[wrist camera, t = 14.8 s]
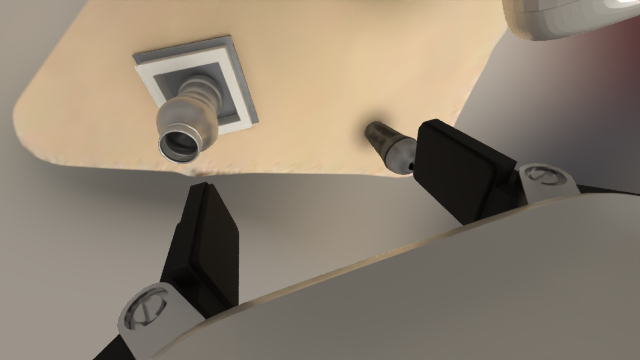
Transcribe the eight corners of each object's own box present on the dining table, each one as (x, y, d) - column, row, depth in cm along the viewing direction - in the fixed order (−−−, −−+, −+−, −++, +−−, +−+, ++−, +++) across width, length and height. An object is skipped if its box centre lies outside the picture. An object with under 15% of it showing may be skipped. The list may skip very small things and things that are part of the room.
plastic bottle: (182, 110, 39) (144, 174, 23) (180, 66, 36) (134, 108, 20) (224, 116, 41) (214, 179, 26) (226, 76, 38) (216, 120, 22)
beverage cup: (359, 148, 55) (406, 202, 39) (359, 118, 50) (414, 165, 35) (387, 142, 56) (444, 192, 40) (390, 112, 51) (456, 155, 36)
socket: (135, 54, 34) (121, 59, 30) (230, 35, 36) (229, 37, 32) (183, 138, 43) (177, 151, 39) (258, 120, 44) (260, 130, 40)
